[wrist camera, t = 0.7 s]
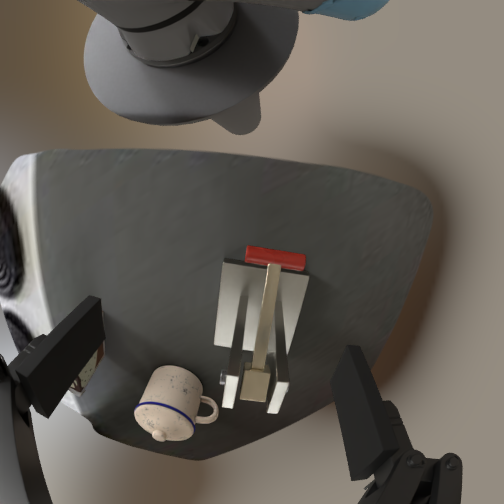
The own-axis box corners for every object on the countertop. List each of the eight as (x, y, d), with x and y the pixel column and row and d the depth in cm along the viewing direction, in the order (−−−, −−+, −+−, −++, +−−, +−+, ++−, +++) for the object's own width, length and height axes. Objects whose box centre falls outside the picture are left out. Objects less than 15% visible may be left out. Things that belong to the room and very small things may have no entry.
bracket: (224, 257, 33) (196, 331, 19) (308, 270, 33) (334, 350, 19) (215, 338, 37) (193, 423, 23) (286, 348, 37) (293, 436, 23)
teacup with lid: (156, 395, 42) (136, 445, 31) (147, 358, 39) (120, 412, 28) (223, 405, 42) (214, 461, 31) (222, 369, 39) (210, 431, 28)
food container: (71, 289, 36) (33, 322, 26) (103, 302, 36) (67, 341, 26) (77, 347, 40) (49, 382, 30) (105, 360, 40) (80, 399, 31)
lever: (247, 246, 25) (247, 243, 22) (302, 255, 25) (308, 253, 22) (225, 386, 23) (223, 396, 21) (278, 393, 24) (281, 403, 21)
